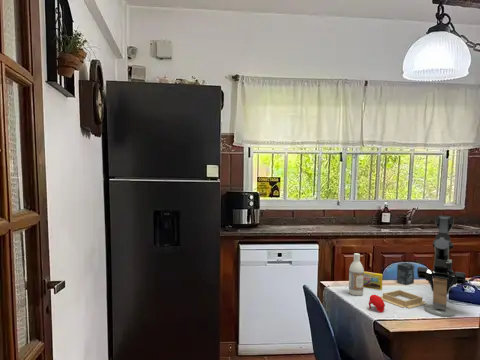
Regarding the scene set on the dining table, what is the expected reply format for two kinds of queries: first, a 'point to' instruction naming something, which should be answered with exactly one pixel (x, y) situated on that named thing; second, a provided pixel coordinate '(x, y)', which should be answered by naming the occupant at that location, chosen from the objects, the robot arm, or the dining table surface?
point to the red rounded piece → (377, 303)
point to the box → (405, 273)
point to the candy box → (373, 280)
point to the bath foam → (356, 276)
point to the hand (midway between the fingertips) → (439, 292)
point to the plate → (439, 311)
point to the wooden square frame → (409, 304)
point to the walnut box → (440, 293)
